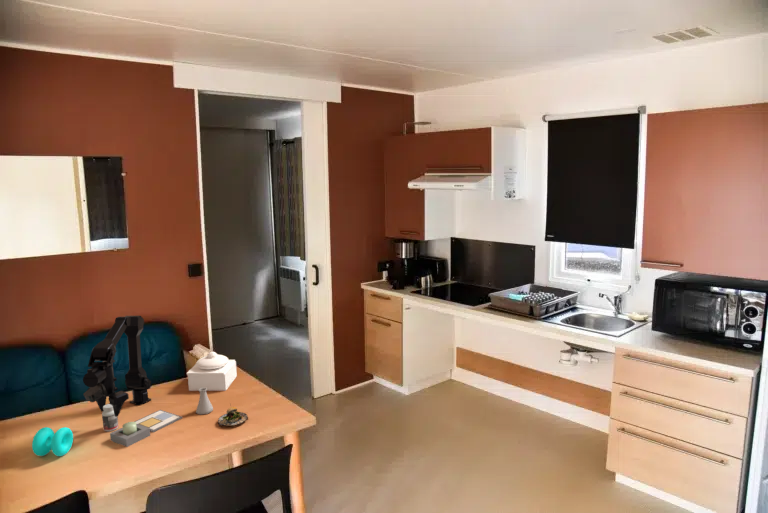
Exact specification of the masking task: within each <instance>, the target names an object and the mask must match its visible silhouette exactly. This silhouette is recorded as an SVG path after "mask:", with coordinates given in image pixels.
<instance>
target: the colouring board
mask: <svg viewBox="0 0 768 513" xmlns="http://www.w3.org/2000/svg"><path fill="white" fill-rule="evenodd" d="M182 419H183V416H182V415H179V414H175V413H172V412H168V411H166V410H163V409H159V410H156V411H154V412H152V413H150V414H148V415H146V416H142V417H141V418H139V419H137V420H135V421H133V422H136V424H139V425H142V426H145V427H148V428H150V433H155V432H158V431H159V430H162V429H163V428H165V427H168V426H169V425H171V424H174V423H175V422H178V421H179V420H180V421H181V420H182Z"/></svg>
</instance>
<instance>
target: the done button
mask: <svg viewBox="0 0 768 513" xmlns="http://www.w3.org/2000/svg"><path fill="white" fill-rule="evenodd" d="M122 428H123V434H124V435H127V436H129V435H131V434H133V433H135V432H137V426H136V422H134V421H128V422H125V423H123V425H122Z"/></svg>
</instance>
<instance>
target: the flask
mask: <svg viewBox="0 0 768 513" xmlns="http://www.w3.org/2000/svg"><path fill="white" fill-rule="evenodd" d="M206 390H207V388H201V389H199V391H198V392H199V398H198V399H199V400H198V403H197V406H196V411H195V414H197V415H208V414H210V413H211V412H212V411H214V407H213V404H212V402H211V401H210V398H209V397H208V393H207V391H206Z"/></svg>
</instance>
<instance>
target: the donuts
mask: <svg viewBox="0 0 768 513" xmlns="http://www.w3.org/2000/svg"><path fill="white" fill-rule="evenodd" d="M73 441H74V434H73V431H72V430H71V428H69V427H66V426H64V427H60V428H58V429H57V430H56V431H54V430H53V429H52V428H51V427H47V426H45V427H42V428H40V429H38V430H37V432H36V433H35V434H34V436H33V439H32V444H31V448H32V453H34V455H36V456H37V457H38V456H39V457H44V456H47V455H48V454H49V453H50V452H51V451H52V452H51V453H52V454H54V455H55V456H56V457H62V456H66V454H68V453H69V451H70V450H71V448H72V446H73Z"/></svg>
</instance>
